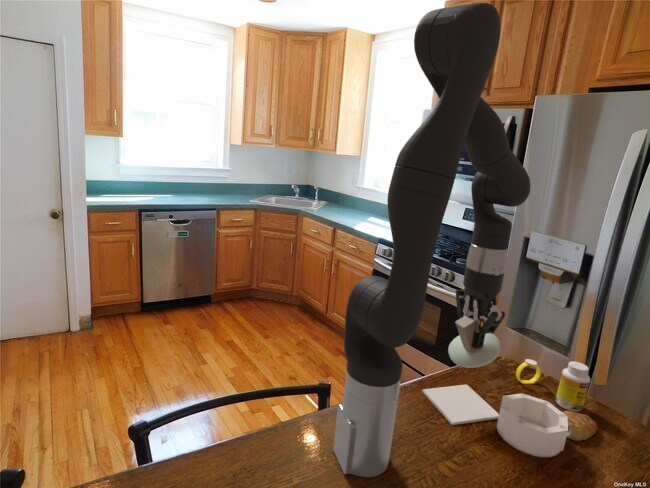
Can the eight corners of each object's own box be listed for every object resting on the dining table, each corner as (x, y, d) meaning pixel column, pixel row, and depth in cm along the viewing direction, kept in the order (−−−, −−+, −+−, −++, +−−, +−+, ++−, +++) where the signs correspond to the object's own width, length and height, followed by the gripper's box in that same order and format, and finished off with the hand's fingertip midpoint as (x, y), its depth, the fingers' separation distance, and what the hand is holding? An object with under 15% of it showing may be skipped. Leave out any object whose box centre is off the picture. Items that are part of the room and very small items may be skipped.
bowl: (526, 461, 79) (532, 436, 78) (484, 420, 90) (489, 397, 89) (575, 452, 83) (582, 427, 82) (530, 413, 94) (535, 391, 93)
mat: (452, 425, 88) (452, 422, 88) (422, 391, 99) (422, 389, 99) (500, 418, 92) (500, 415, 91) (466, 386, 103) (466, 384, 102)
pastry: (576, 417, 95) (581, 402, 94) (605, 437, 89) (610, 421, 88) (545, 424, 91) (549, 408, 90) (573, 445, 85) (577, 429, 84)
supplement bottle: (574, 415, 95) (585, 374, 93) (550, 402, 99) (559, 362, 97) (586, 408, 98) (597, 368, 96) (562, 395, 103) (572, 357, 100)
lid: (468, 375, 87) (458, 346, 84) (439, 349, 96) (429, 322, 94) (512, 349, 88) (503, 319, 85) (479, 326, 98) (470, 299, 95)
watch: (532, 380, 109) (539, 359, 108) (539, 386, 106) (546, 365, 105) (511, 379, 108) (517, 358, 106) (518, 385, 105) (524, 363, 104)
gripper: (450, 257, 93) (438, 330, 97) (492, 278, 80) (477, 361, 84) (479, 257, 95) (466, 328, 99) (525, 277, 82) (508, 358, 86)
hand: (471, 343), depth 92 cm, fingers closed on lid, 3 cm apart
